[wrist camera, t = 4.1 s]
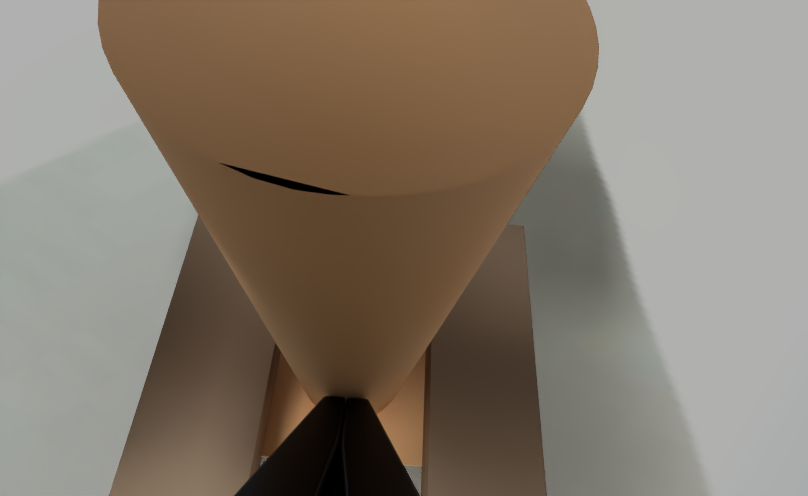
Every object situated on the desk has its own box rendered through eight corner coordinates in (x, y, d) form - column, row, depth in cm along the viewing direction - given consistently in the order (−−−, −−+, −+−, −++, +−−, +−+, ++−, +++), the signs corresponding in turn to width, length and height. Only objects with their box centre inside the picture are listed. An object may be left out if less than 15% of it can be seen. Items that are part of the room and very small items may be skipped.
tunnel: (482, 877, 12) (614, 1286, 6) (109, 881, 11) (-165, 1355, 5) (468, 156, 23) (508, 51, 17) (284, 134, 22) (261, 17, 16)
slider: (429, 466, 15) (1038, 475, 2) (257, 456, 15) (-696, 362, 1) (432, 329, 18) (709, -125, 4) (283, 317, 17) (34, -242, 4)
